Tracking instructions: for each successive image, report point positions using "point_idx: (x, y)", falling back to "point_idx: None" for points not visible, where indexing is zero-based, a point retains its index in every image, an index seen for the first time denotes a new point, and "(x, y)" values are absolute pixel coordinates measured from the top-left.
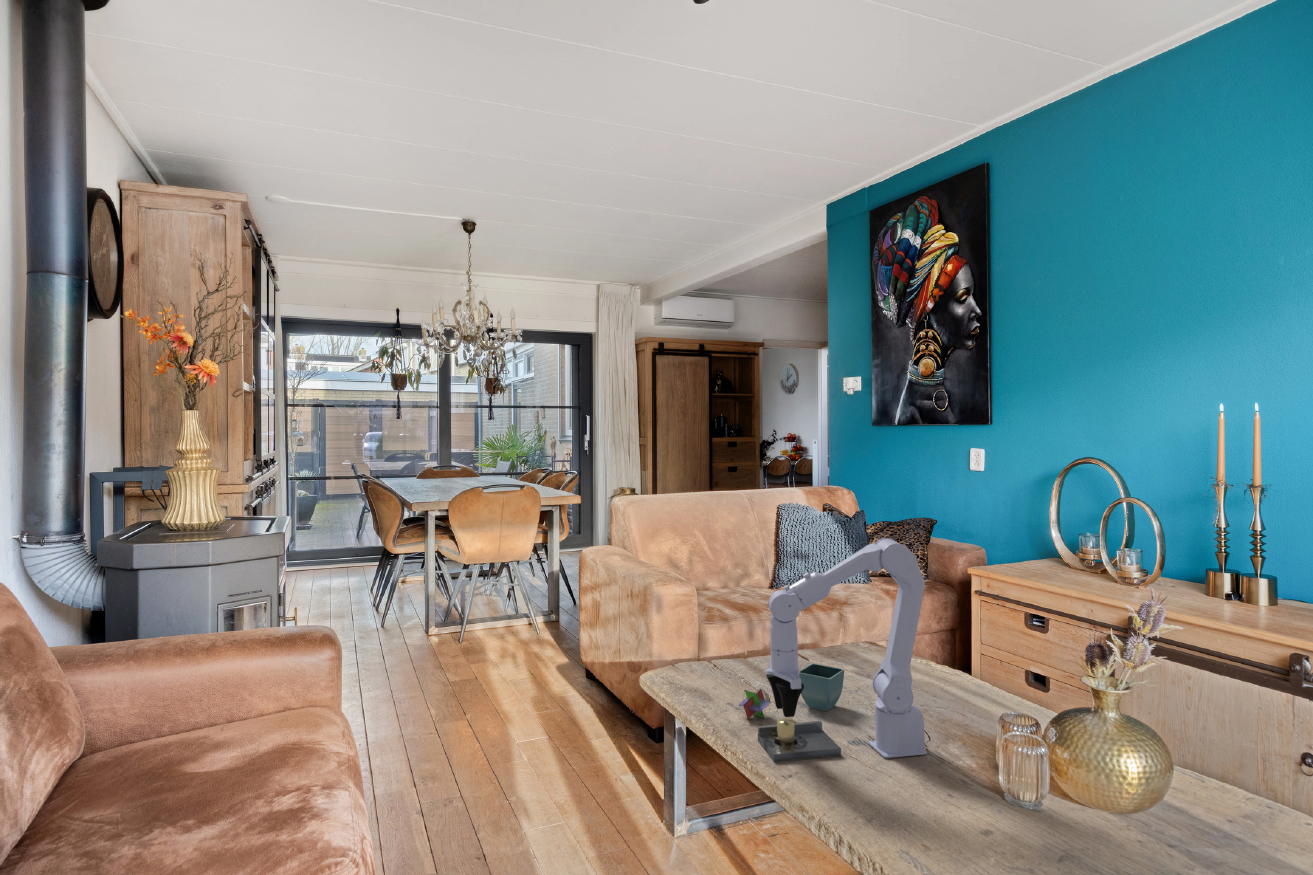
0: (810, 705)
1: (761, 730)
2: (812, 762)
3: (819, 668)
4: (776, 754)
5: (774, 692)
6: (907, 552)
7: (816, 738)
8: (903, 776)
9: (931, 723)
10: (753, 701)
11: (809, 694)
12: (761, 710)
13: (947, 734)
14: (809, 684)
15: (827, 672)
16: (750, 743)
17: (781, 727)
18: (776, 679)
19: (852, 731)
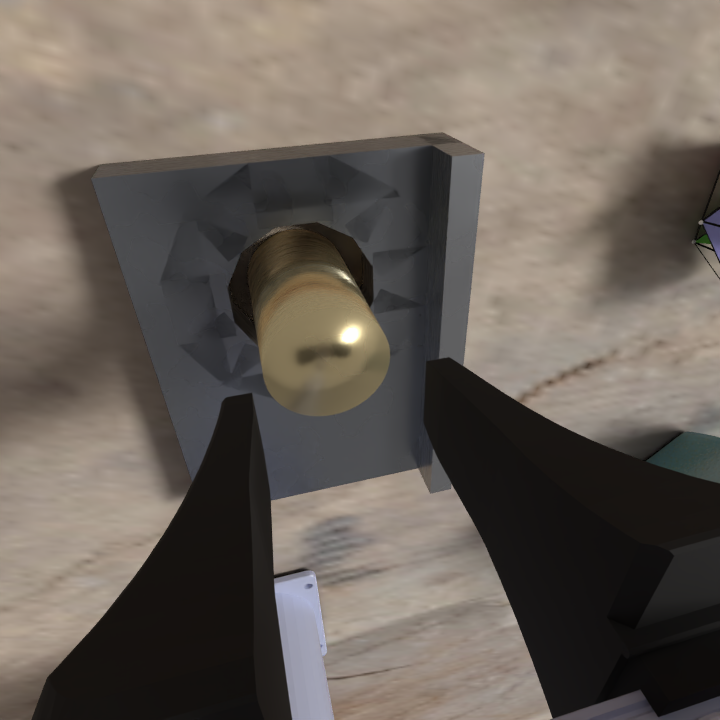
0: (679, 443)
1: (442, 171)
2: (118, 374)
3: None
4: (100, 196)
5: (505, 439)
6: None
7: (326, 438)
8: (11, 637)
9: (424, 679)
10: None
11: (711, 478)
12: (713, 238)
13: (347, 703)
14: None
15: None
16: (418, 68)
17: (278, 316)
18: (592, 594)
19: (429, 533)
